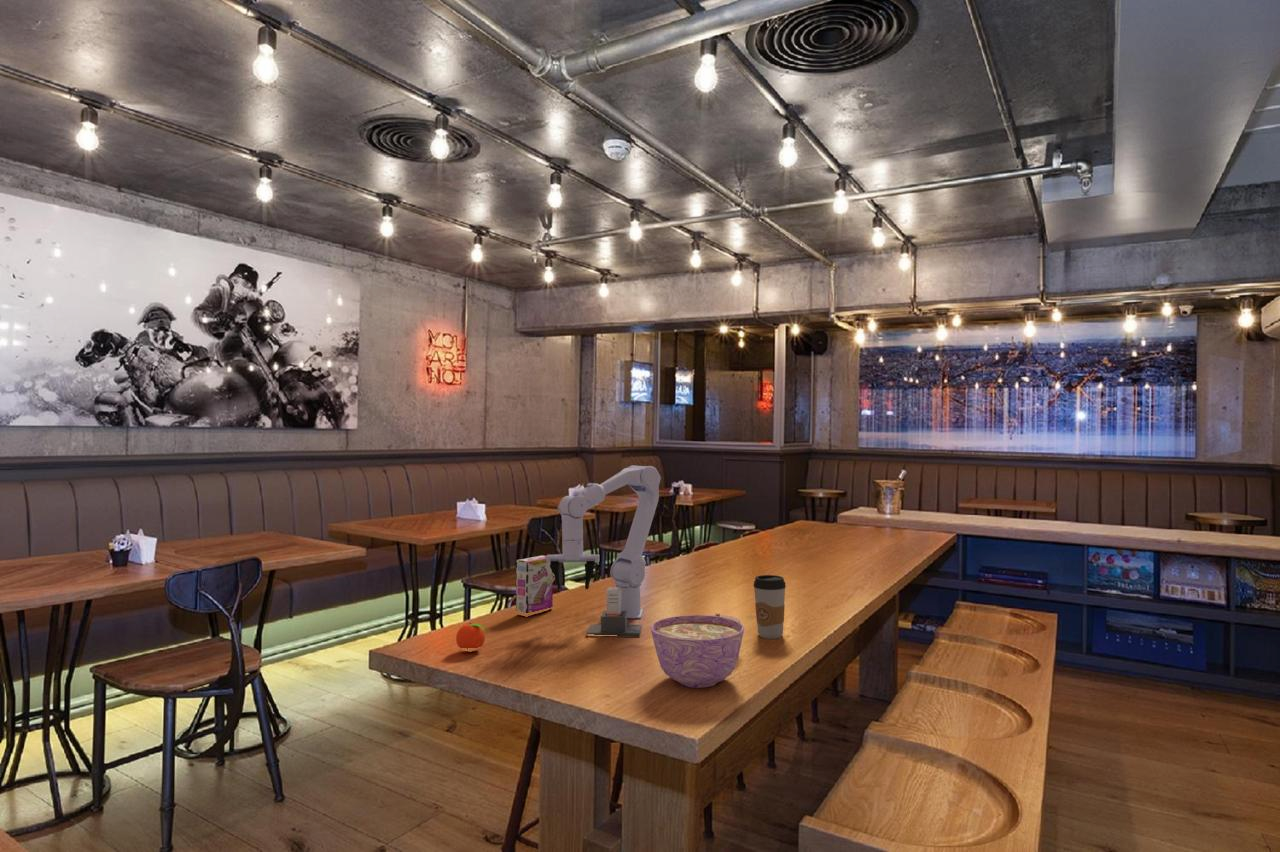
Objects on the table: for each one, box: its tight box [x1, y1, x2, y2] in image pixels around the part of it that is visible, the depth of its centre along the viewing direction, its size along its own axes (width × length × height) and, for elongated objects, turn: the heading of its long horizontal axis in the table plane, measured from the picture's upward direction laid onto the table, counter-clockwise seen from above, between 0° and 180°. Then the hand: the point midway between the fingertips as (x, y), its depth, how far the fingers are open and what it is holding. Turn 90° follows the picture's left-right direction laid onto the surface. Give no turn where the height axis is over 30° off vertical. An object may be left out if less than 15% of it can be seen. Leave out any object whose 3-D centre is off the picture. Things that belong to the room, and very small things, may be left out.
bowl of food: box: [650, 614, 745, 689], centre depth 151 cm, size 20×20×12 cm
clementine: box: [455, 622, 488, 649], centre depth 174 cm, size 8×7×7 cm
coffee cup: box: [753, 574, 787, 640], centre depth 184 cm, size 8×8×15 cm
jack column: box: [606, 586, 622, 616], centre depth 189 cm, size 4×4×8 cm
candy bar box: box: [515, 555, 554, 613], centre depth 212 cm, size 11×5×16 cm, turn 144°
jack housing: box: [585, 610, 643, 638], centre depth 189 cm, size 8×14×5 cm, turn 86°
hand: (573, 588), depth 196 cm, fingers open, 7 cm apart
